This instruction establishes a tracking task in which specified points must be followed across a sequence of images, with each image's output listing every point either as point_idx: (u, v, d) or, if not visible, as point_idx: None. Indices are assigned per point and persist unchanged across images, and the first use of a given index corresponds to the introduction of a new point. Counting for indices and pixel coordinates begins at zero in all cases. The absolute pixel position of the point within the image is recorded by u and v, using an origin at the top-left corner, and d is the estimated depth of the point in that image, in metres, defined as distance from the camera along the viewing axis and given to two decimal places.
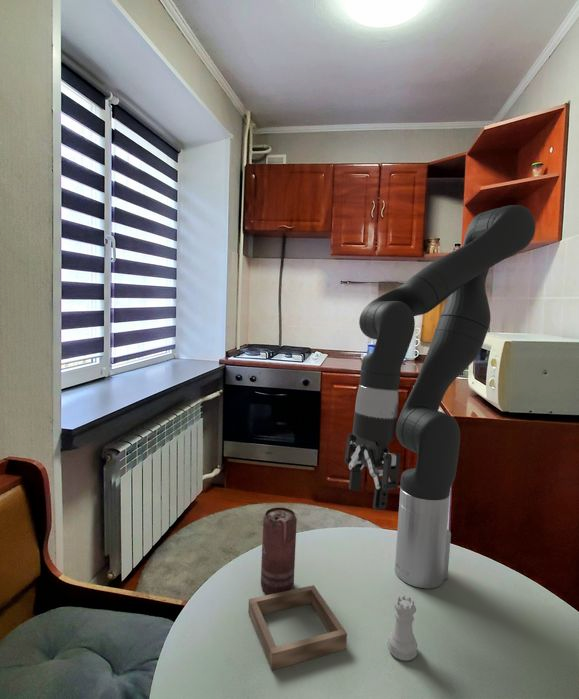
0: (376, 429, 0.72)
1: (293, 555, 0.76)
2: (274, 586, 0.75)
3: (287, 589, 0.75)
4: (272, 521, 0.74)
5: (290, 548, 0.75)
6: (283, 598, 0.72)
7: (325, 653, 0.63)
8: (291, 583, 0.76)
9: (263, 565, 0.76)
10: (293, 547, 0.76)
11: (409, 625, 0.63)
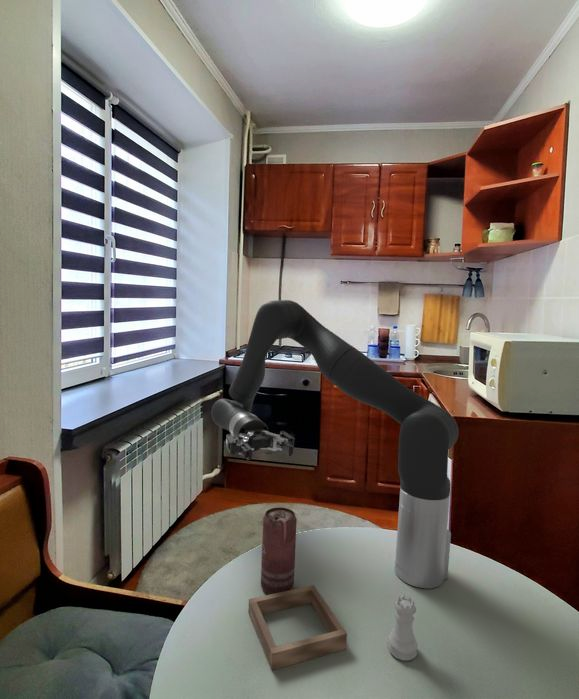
0: None
1: (293, 555, 0.76)
2: (274, 586, 0.75)
3: (287, 589, 0.75)
4: (272, 521, 0.74)
5: (290, 548, 0.75)
6: (283, 598, 0.72)
7: (325, 653, 0.63)
8: (291, 583, 0.76)
9: (263, 565, 0.76)
10: (293, 547, 0.76)
11: (409, 625, 0.63)
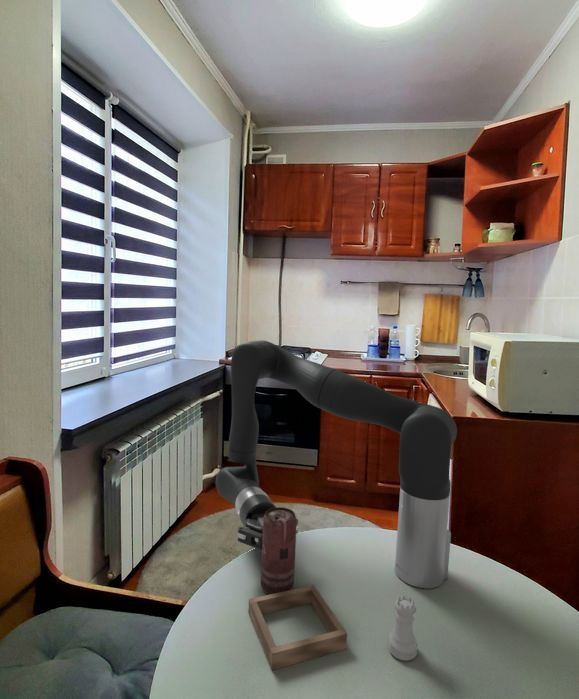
0: None
1: (293, 555, 0.76)
2: (274, 586, 0.75)
3: (287, 589, 0.75)
4: (272, 521, 0.74)
5: (291, 548, 0.75)
6: (283, 598, 0.72)
7: (325, 653, 0.63)
8: (291, 583, 0.76)
9: (263, 565, 0.76)
10: (293, 547, 0.76)
11: (409, 625, 0.63)
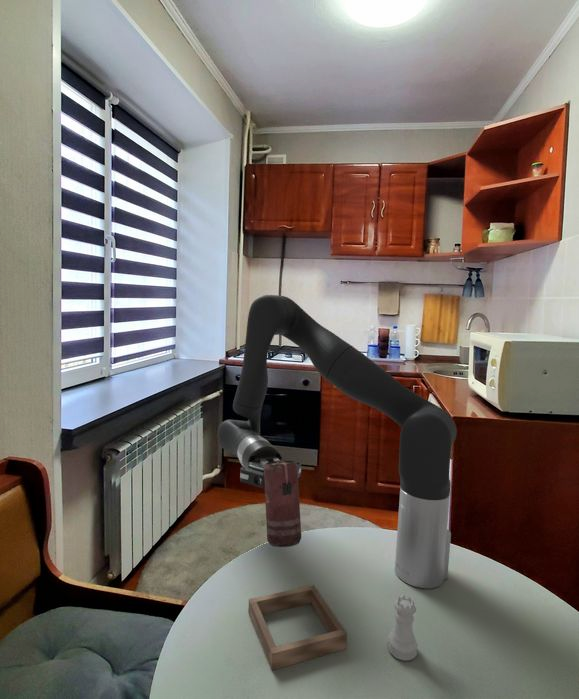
0: None
1: (297, 502, 0.75)
2: (281, 535, 0.72)
3: (295, 539, 0.73)
4: (273, 465, 0.75)
5: (294, 493, 0.74)
6: (283, 598, 0.72)
7: (325, 653, 0.63)
8: (298, 533, 0.74)
9: (268, 516, 0.74)
10: (296, 493, 0.75)
11: (409, 625, 0.63)
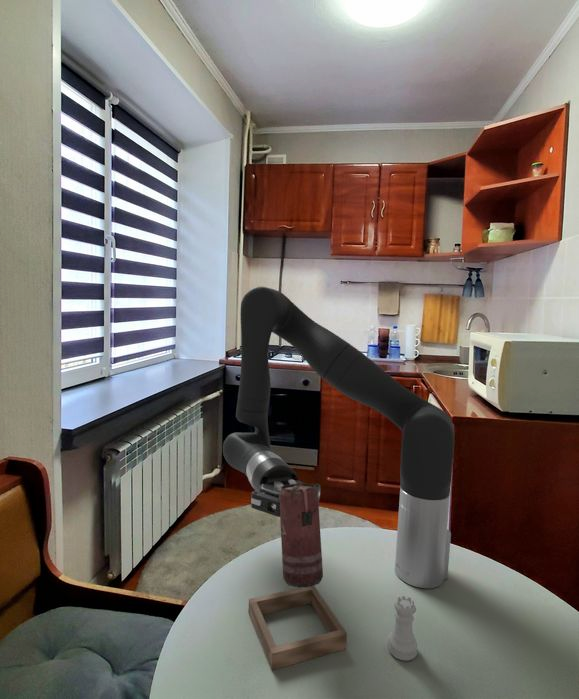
0: None
1: (318, 534, 0.64)
2: (300, 573, 0.62)
3: (316, 577, 0.62)
4: (290, 491, 0.64)
5: (315, 523, 0.64)
6: (283, 598, 0.72)
7: (325, 653, 0.63)
8: (320, 571, 0.63)
9: (284, 550, 0.64)
10: (317, 523, 0.64)
11: (409, 625, 0.63)
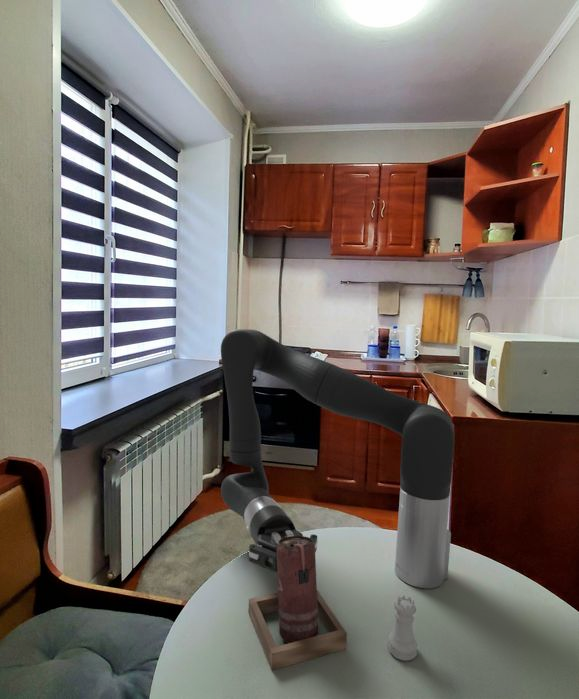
0: (254, 541, 0.76)
1: (315, 590, 0.65)
2: (296, 630, 0.63)
3: (312, 634, 0.63)
4: (287, 547, 0.65)
5: (311, 580, 0.65)
6: None
7: (325, 653, 0.63)
8: (316, 627, 0.64)
9: (281, 606, 0.64)
10: (314, 579, 0.65)
11: (410, 625, 0.63)
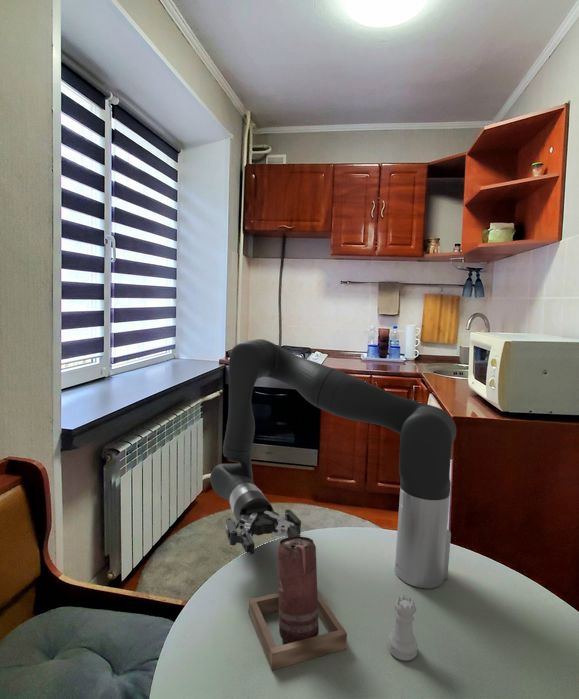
0: None
1: (315, 591, 0.65)
2: (296, 631, 0.63)
3: (312, 635, 0.63)
4: (288, 548, 0.65)
5: (312, 581, 0.64)
6: None
7: (325, 653, 0.63)
8: (316, 628, 0.64)
9: (281, 607, 0.64)
10: (315, 581, 0.65)
11: (409, 625, 0.63)
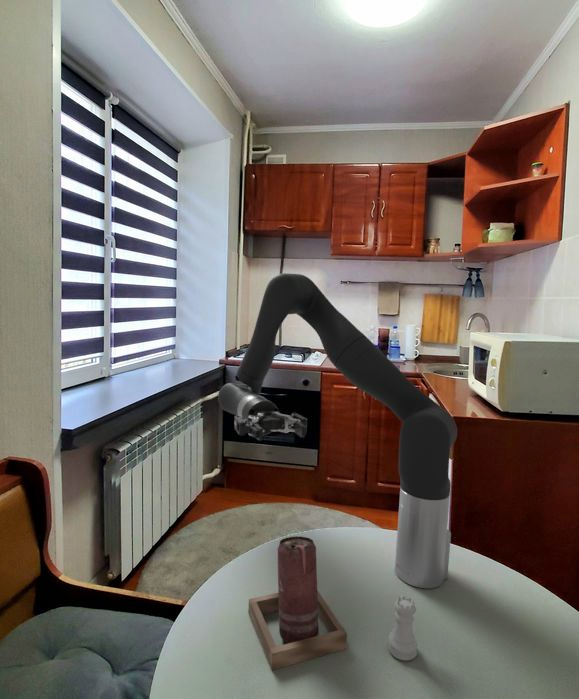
0: None
1: (315, 591, 0.65)
2: (296, 631, 0.63)
3: (312, 635, 0.63)
4: (288, 548, 0.65)
5: (312, 581, 0.64)
6: None
7: (325, 653, 0.63)
8: (316, 628, 0.64)
9: (281, 607, 0.64)
10: (315, 581, 0.65)
11: (409, 625, 0.63)
